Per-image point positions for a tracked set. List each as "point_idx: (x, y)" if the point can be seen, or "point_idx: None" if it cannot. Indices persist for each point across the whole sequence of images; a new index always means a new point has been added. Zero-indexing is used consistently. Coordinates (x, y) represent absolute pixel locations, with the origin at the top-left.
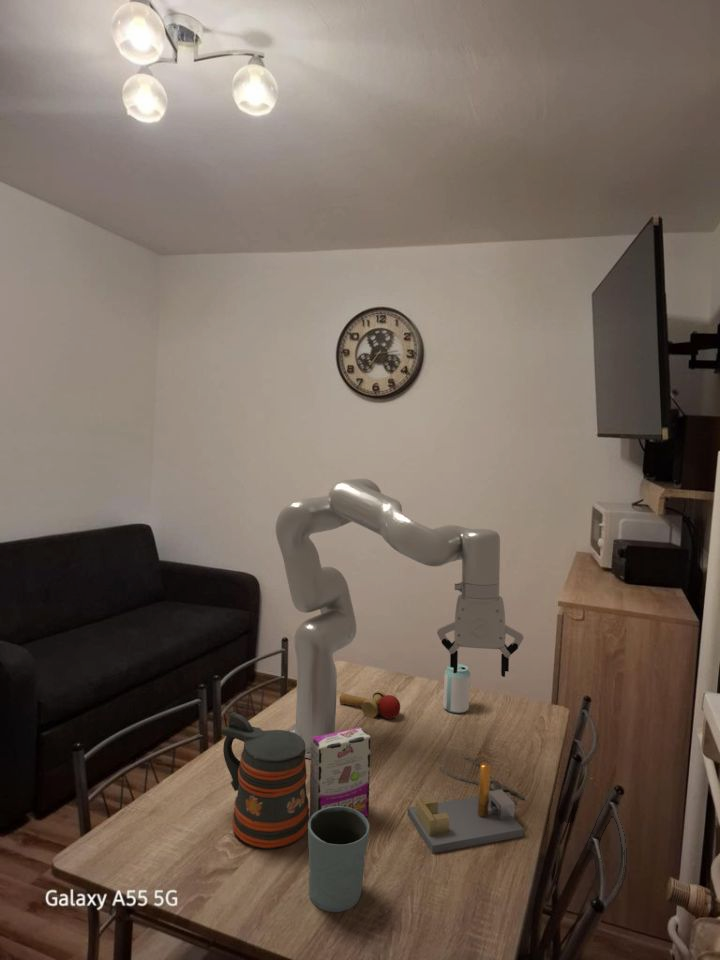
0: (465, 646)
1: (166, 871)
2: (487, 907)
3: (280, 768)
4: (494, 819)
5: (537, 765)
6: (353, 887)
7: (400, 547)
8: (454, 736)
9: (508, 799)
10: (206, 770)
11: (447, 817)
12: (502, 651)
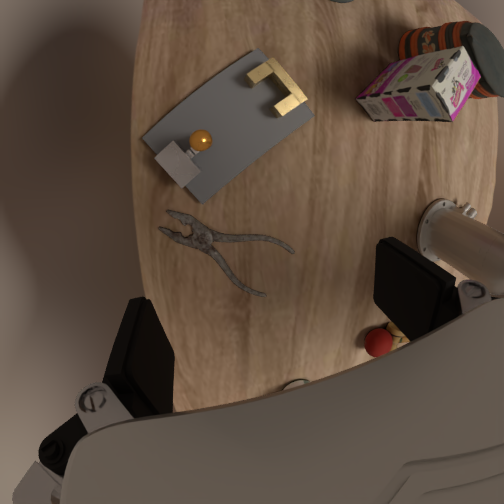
0: (466, 313)
1: (447, 11)
2: (173, 4)
3: (466, 23)
4: (185, 139)
5: (166, 320)
6: None
7: None
8: (289, 336)
9: (165, 164)
10: (490, 146)
11: (249, 72)
12: (121, 417)
